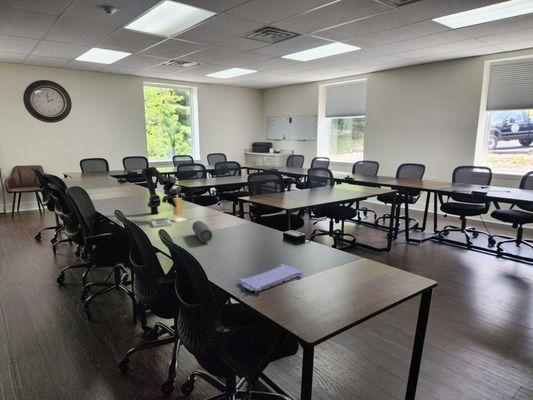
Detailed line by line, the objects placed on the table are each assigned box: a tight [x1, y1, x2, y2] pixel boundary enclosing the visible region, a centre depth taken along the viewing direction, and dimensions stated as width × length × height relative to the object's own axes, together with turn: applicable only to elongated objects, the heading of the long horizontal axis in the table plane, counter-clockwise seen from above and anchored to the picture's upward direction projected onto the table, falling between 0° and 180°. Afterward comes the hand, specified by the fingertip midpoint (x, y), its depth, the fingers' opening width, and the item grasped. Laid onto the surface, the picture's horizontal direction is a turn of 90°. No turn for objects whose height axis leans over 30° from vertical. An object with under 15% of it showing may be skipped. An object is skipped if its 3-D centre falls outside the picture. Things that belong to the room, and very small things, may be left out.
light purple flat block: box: [238, 263, 304, 292], centre depth 156 cm, size 30×4×15 cm
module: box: [172, 198, 184, 216], centre depth 261 cm, size 5×5×13 cm
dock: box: [150, 217, 173, 228], centre depth 252 cm, size 18×13×2 cm
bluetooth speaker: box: [191, 220, 213, 243], centre depth 216 cm, size 23×9×10 cm, turn 23°
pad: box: [169, 216, 188, 223], centre depth 263 cm, size 10×10×1 cm
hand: (178, 206), depth 260 cm, fingers closed on module, 5 cm apart
